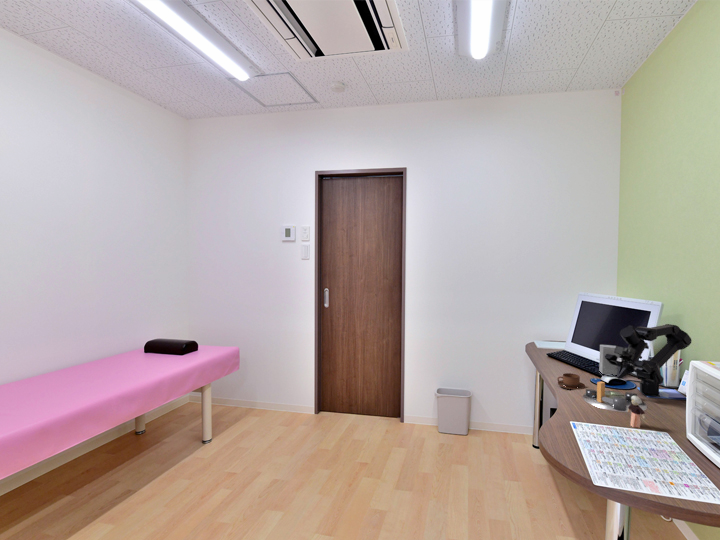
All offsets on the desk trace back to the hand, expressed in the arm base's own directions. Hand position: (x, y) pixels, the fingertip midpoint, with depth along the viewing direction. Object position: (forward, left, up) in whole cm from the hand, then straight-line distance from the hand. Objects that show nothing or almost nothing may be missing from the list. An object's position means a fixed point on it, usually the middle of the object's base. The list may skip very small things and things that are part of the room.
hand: (618, 378), depth 178 cm
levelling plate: (+3, +5, -10) cm, 12 cm away
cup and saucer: (+17, -14, -11) cm, 24 cm away
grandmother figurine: (+2, +31, -10) cm, 32 cm away
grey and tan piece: (+5, +11, -9) cm, 15 cm away
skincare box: (-6, -41, -10) cm, 43 cm away
